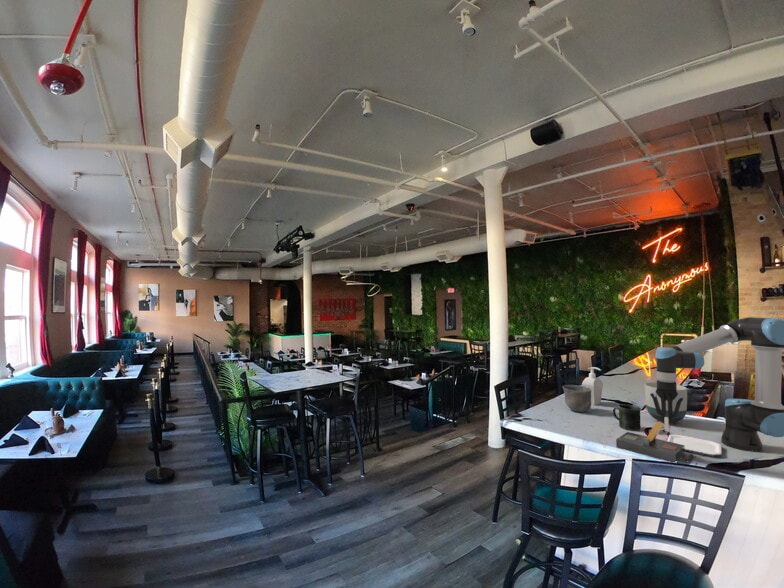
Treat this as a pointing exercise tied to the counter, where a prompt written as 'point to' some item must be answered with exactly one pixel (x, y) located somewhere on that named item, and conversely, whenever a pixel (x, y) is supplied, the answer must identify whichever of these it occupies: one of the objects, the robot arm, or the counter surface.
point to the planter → (650, 404)
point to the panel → (651, 447)
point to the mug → (628, 417)
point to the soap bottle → (594, 386)
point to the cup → (577, 397)
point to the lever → (655, 431)
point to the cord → (689, 457)
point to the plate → (697, 445)
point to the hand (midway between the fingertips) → (667, 430)
